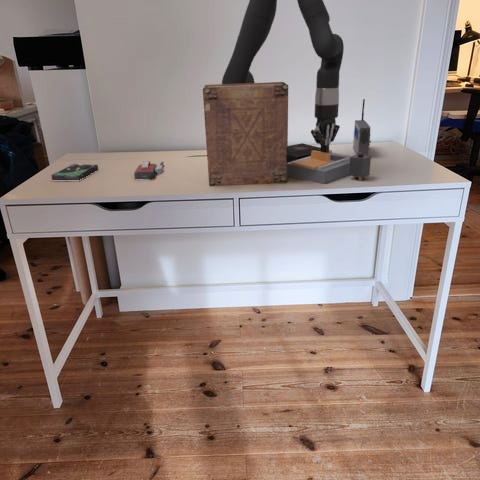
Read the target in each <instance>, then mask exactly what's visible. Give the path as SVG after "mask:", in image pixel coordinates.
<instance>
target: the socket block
mask: <svg viewBox="0 0 480 480" xmlns="http://www.w3.org/2000/svg"><path fill="white" fill-rule="evenodd" d="M330 150H331V149H329V153H331V154H330V161H331V163H328V164H325V165H322V166H319V167H317V169H315V170H313V169H309V168H304V167H299V166H295V165H293V162H296V161H300V160H303V159H307V158H311V156H309V157H305V158H302V159H299V160H295V161H292V162H288V163H287V177H288V176H289V177H293V178H298V179H302V180H306V181H309V182H314V183H318V184H323V185H324V183H325V184H327V182H328V183H330V182H333V181H337V180H338V179H342V178H344V177H346V176H350V175H349V168H350V157H352V156H355V155H356V154H354V155H348V154H342V153H336V152H333V150H331V151H330Z"/></svg>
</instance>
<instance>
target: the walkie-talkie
mask: <svg viewBox="0 0 480 480" xmlns="http://www.w3.org/2000/svg"><path fill="white" fill-rule="evenodd" d="M163 171H164V161H161V162H160V164H159V165H157V164H156V163H151V161H150V160H148V161H147V160H146V161H143V162H142V163H141V164H139V165H138V166H137V168H136V169H135V170H134V172H133V176H134V180H135V179H149V180H154V179H153V178H155V177H156V176H158V174H159V175H161V174H162V173H163Z"/></svg>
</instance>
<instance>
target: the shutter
mask: <svg viewBox="0 0 480 480" xmlns="http://www.w3.org/2000/svg"><path fill="white" fill-rule="evenodd" d="M330 154H331V153H326V152H320V151H314V150H313V151H311V158H307V159H303V160H300V161H296V162H293V165H295V166H299V167H304V168H309V169H313V170H315V169H317V167H319V166H322V165H325V164H328V163H331V161H330Z"/></svg>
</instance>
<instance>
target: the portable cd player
mask: <svg viewBox="0 0 480 480" xmlns="http://www.w3.org/2000/svg"><path fill="white" fill-rule="evenodd" d="M313 150H314V151H320V150H321V146H320V147H318V146H315V145H311V144H306V143H296V144H291V145H288V149H287V163H288V162H292V161H295V160H299V159H302V158H305V157H309V156H311V151H313ZM329 150H330V151H332V150H331V149H329Z"/></svg>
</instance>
